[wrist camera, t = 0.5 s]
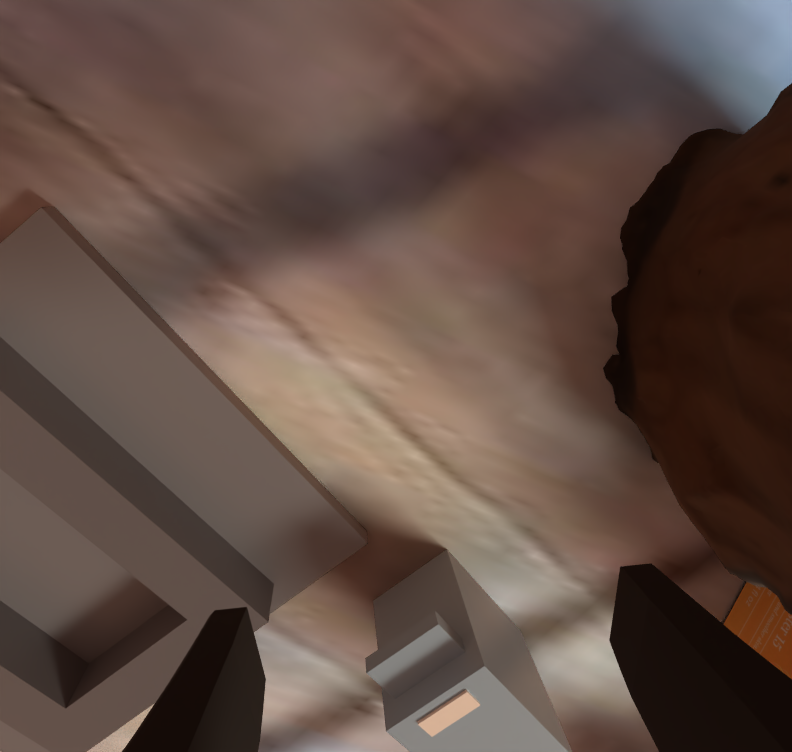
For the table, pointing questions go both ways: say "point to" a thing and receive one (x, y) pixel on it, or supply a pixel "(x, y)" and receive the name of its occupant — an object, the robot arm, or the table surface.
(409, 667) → the block
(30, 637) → the chassis
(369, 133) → the table surface
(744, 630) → the small box
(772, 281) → the owl
